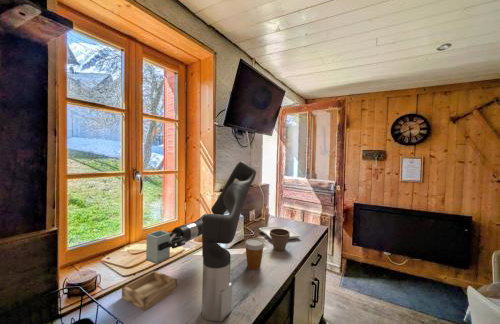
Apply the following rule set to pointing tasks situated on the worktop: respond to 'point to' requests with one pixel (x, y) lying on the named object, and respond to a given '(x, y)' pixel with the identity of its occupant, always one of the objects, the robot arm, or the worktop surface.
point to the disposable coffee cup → (254, 253)
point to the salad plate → (267, 229)
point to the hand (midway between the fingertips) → (153, 246)
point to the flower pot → (279, 238)
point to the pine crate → (149, 289)
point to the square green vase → (152, 247)
